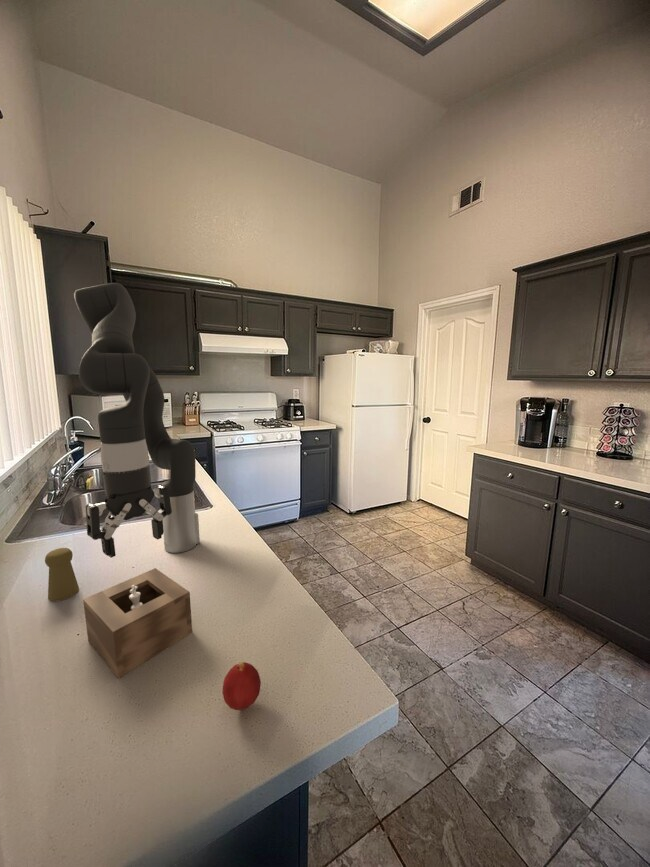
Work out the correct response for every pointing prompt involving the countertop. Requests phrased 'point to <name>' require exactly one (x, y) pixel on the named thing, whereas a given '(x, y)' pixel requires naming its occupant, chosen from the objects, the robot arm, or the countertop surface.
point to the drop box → (137, 620)
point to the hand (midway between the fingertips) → (135, 546)
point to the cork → (61, 575)
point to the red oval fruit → (241, 686)
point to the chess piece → (135, 597)
